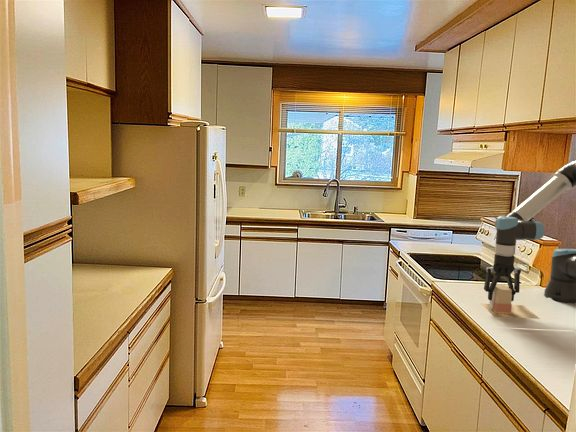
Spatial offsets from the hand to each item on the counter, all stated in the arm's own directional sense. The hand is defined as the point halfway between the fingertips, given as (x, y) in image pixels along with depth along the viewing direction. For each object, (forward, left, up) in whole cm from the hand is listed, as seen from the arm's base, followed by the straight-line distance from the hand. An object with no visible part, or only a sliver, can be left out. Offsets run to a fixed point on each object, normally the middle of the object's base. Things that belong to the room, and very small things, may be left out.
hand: (499, 307), depth 200 cm
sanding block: (0, 0, -1) cm, 1 cm away
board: (-4, 0, -2) cm, 4 cm away
